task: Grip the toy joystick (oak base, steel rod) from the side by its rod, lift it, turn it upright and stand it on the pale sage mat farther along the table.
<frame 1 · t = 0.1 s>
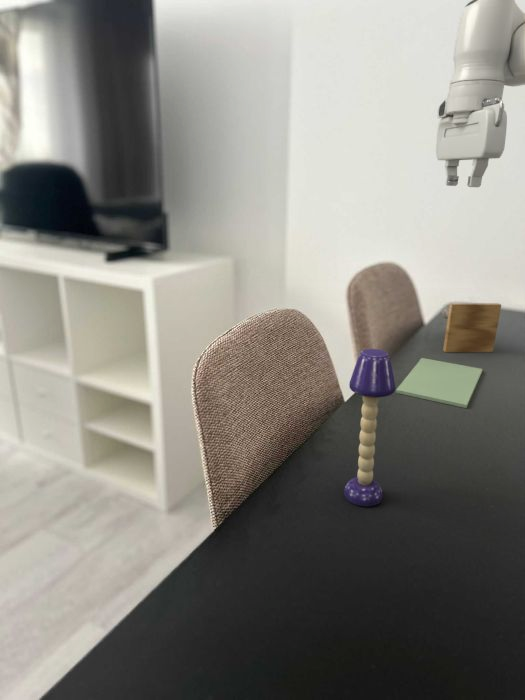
hand: (462, 186, 94), 32 cm above the table, tool pointing down, fingers open, 8 cm apart
mat: (441, 381, 89), on the table
toy lamp: (361, 495, 57), on the table
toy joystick: (471, 327, 103), point 5 cm above the table, touching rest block
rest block: (457, 343, 109), on the table
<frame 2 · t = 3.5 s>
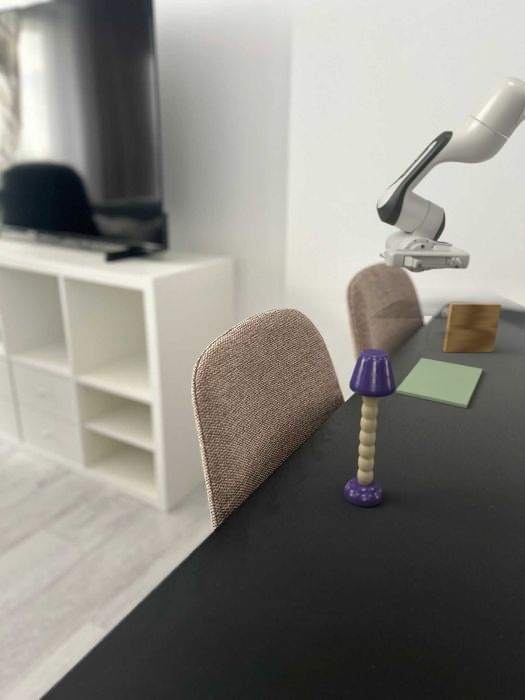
hand: (438, 264, 119), 14 cm above the table, tool horizontal, fingers open, 8 cm apart
nothing on the table moved.
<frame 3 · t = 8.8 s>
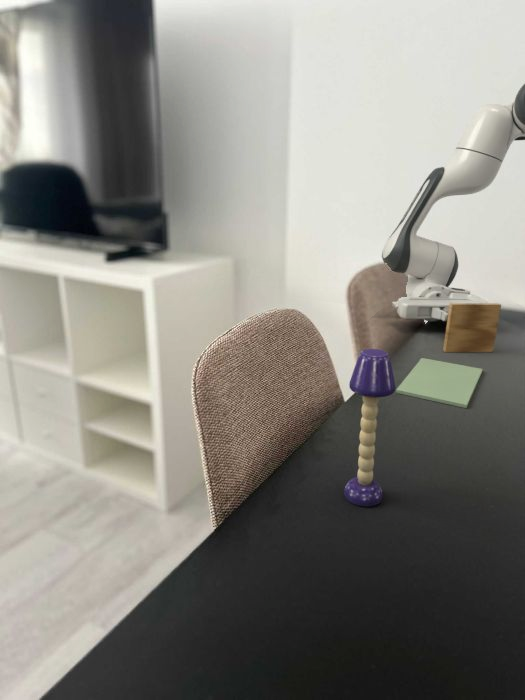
hand: (455, 317, 110), 5 cm above the table, tool horizontal, fingers closed on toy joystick
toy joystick: (471, 327, 103), point 5 cm above the table, touching gripper
everything else where it was.
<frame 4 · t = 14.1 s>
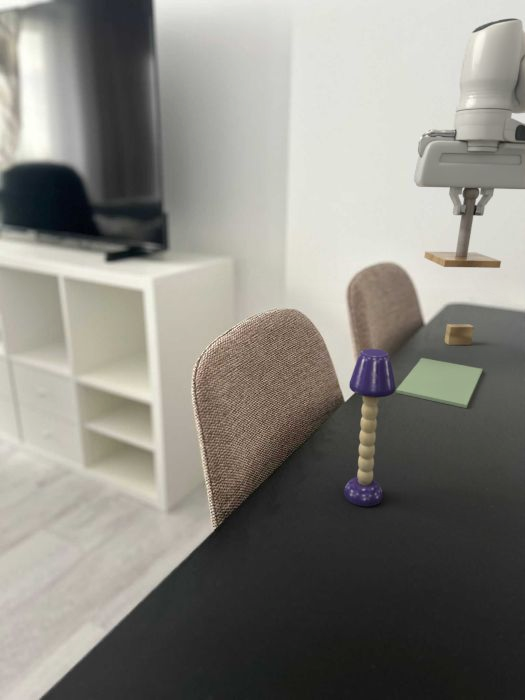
hand: (467, 215, 91), 27 cm above the table, tool pointing down, fingers closed on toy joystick
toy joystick: (460, 259, 94), point 19 cm above the table, tilted 90°, touching gripper
everything else where it was.
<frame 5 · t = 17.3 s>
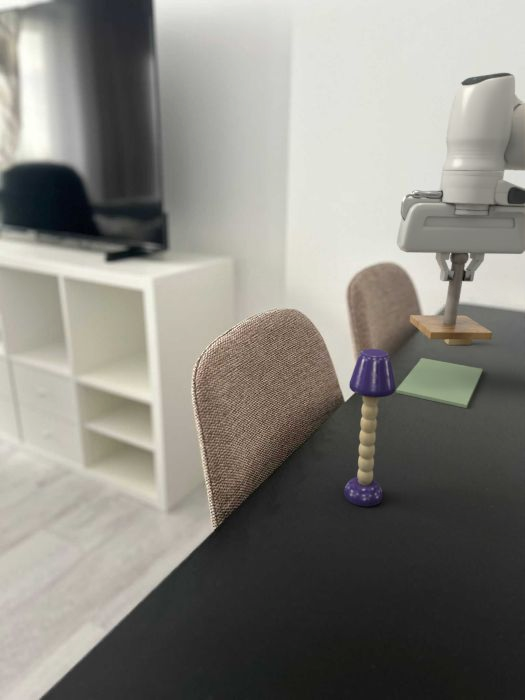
hand: (456, 280, 83), 18 cm above the table, tool pointing down, fingers closed on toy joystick
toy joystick: (448, 326, 86), point 10 cm above the table, tilted 90°, touching gripper
everything else where it was.
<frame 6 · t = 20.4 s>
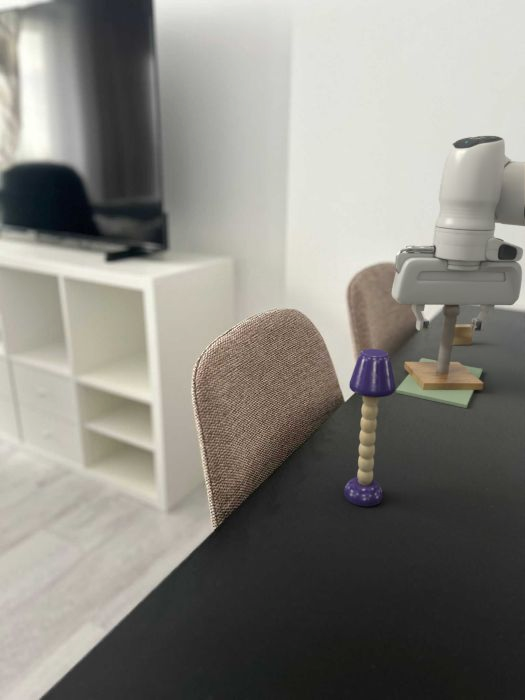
hand: (449, 329, 86), 9 cm above the table, tool pointing down, fingers open, 8 cm apart
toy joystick: (441, 375, 88), point 1 cm above the table, tilted 90°, touching mat
everything else where it was.
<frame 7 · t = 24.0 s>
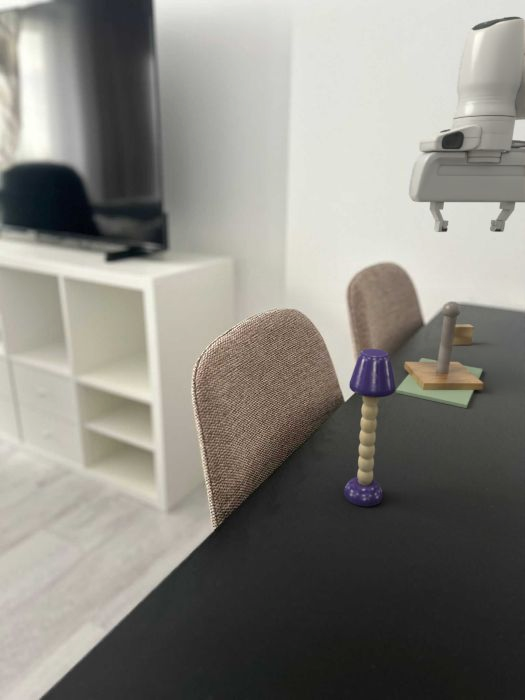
hand: (468, 231, 83), 25 cm above the table, tool pointing down, fingers open, 8 cm apart
nothing on the table moved.
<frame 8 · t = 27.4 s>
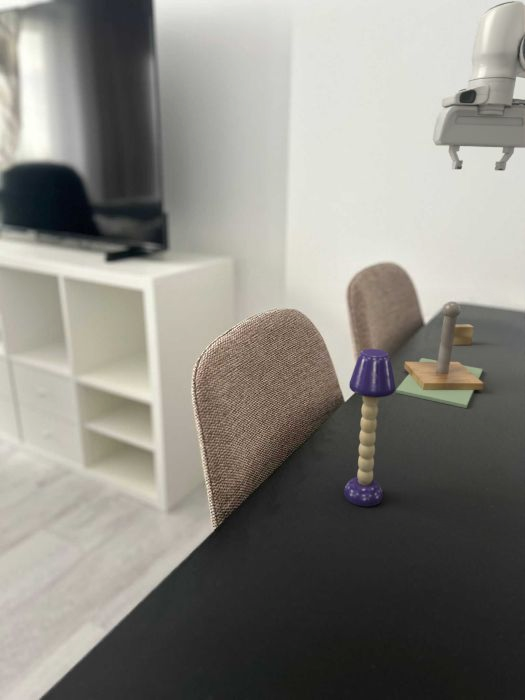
hand: (478, 170, 108), 35 cm above the table, tool pointing down, fingers open, 8 cm apart
nothing on the table moved.
at the end: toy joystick inside the target area on the mat (0.2 cm from its centre), point 1.2 cm above the mat's base; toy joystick tilted 90°; the gripper is holding nothing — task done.
